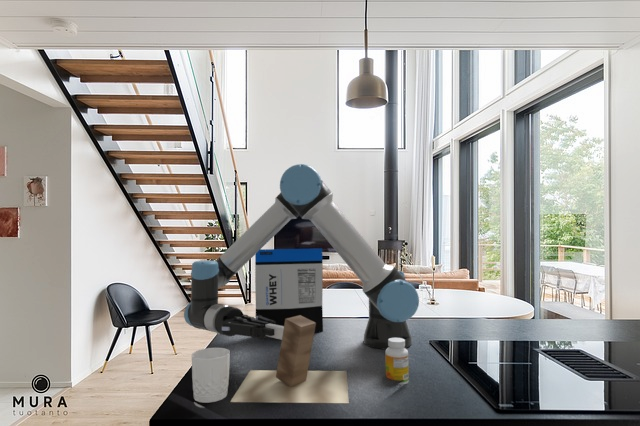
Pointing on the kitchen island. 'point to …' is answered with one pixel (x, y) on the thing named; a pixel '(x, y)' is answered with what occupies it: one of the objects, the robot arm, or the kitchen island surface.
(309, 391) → the board
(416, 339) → the kitchen island surface
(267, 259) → the protein powder
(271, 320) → the robot arm
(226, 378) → the white cup
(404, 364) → the supplement bottle
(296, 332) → the block
